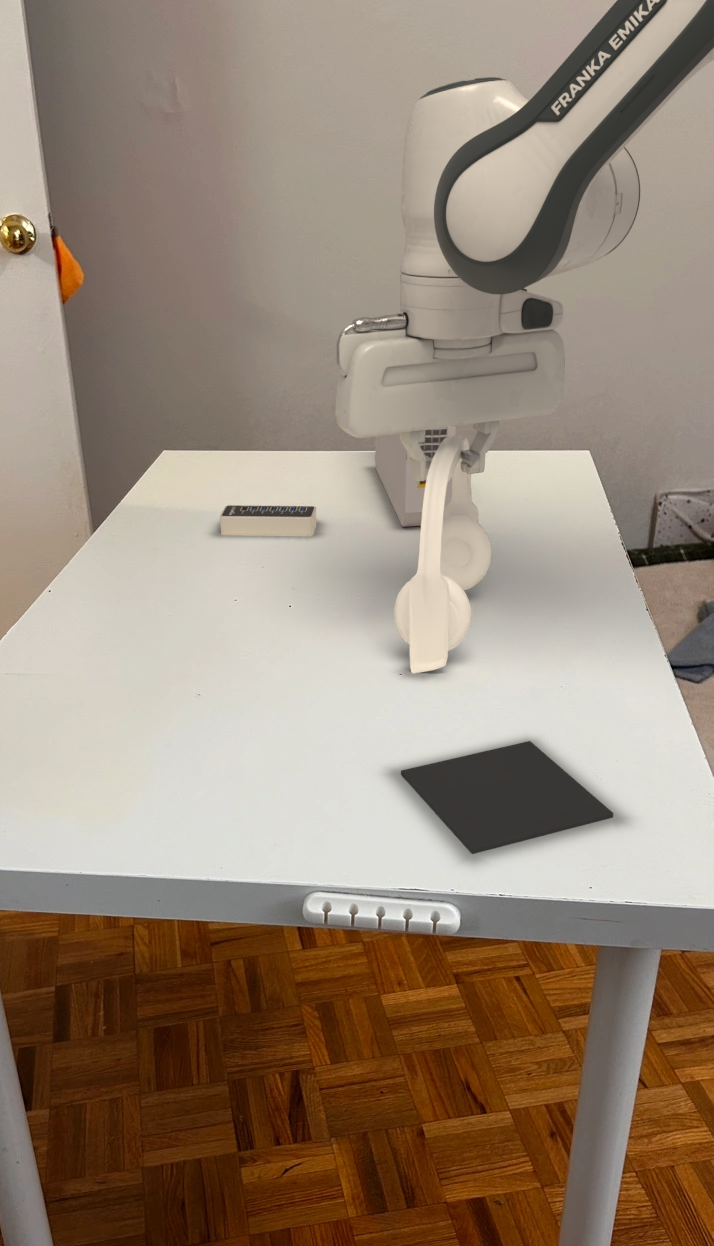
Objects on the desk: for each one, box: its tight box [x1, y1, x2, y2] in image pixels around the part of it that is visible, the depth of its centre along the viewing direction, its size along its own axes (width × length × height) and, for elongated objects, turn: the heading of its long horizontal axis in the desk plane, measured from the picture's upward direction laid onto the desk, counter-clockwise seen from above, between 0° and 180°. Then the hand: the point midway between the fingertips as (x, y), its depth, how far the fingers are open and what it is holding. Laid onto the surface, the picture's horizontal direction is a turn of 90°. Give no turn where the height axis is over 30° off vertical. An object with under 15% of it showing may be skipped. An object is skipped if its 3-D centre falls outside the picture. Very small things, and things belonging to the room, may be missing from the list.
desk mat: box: [400, 740, 614, 855], centre depth 79 cm, size 11×11×1 cm
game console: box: [374, 426, 457, 528], centre depth 136 cm, size 6×27×20 cm, turn 4°
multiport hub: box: [219, 504, 318, 537], centre depth 131 cm, size 4×11×2 cm, turn 84°
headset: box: [393, 434, 493, 674], centre depth 100 cm, size 20×7×18 cm, turn 165°
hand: (448, 475), depth 97 cm, fingers closed on headset, 3 cm apart
